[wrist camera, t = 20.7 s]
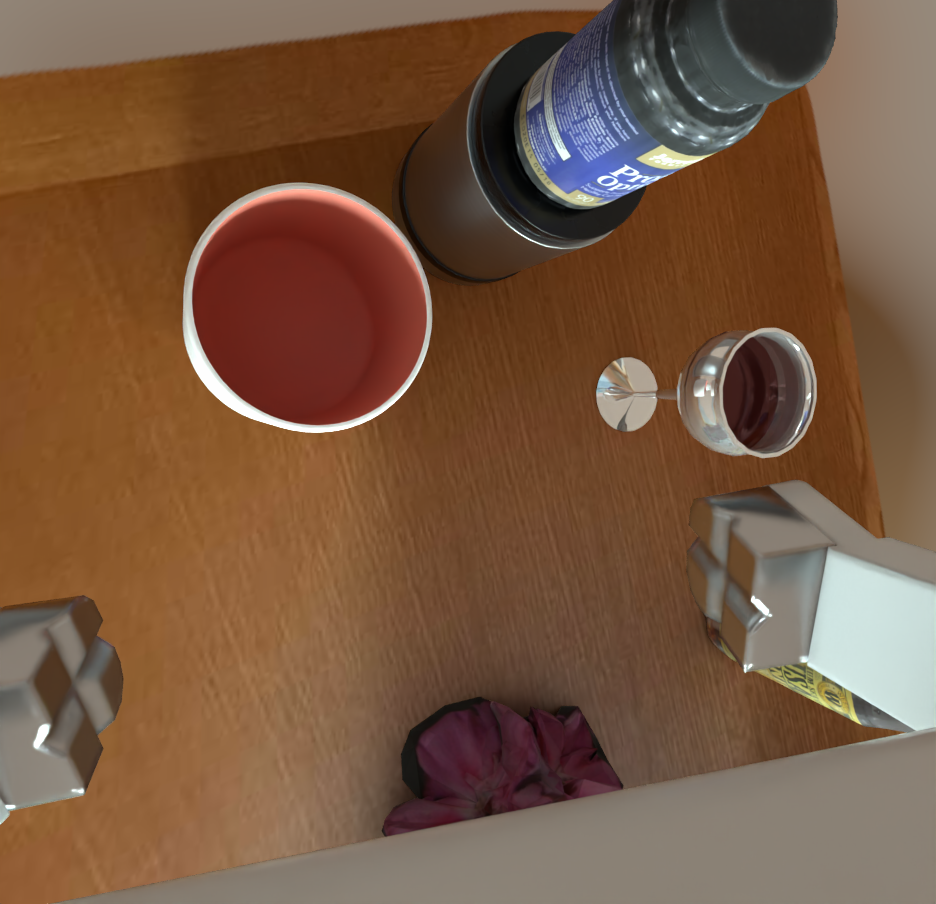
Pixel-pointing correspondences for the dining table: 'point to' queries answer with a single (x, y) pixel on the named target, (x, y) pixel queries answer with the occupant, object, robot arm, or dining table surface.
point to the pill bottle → (662, 89)
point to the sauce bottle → (819, 689)
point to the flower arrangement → (496, 764)
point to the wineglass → (724, 393)
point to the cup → (306, 308)
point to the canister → (490, 183)
